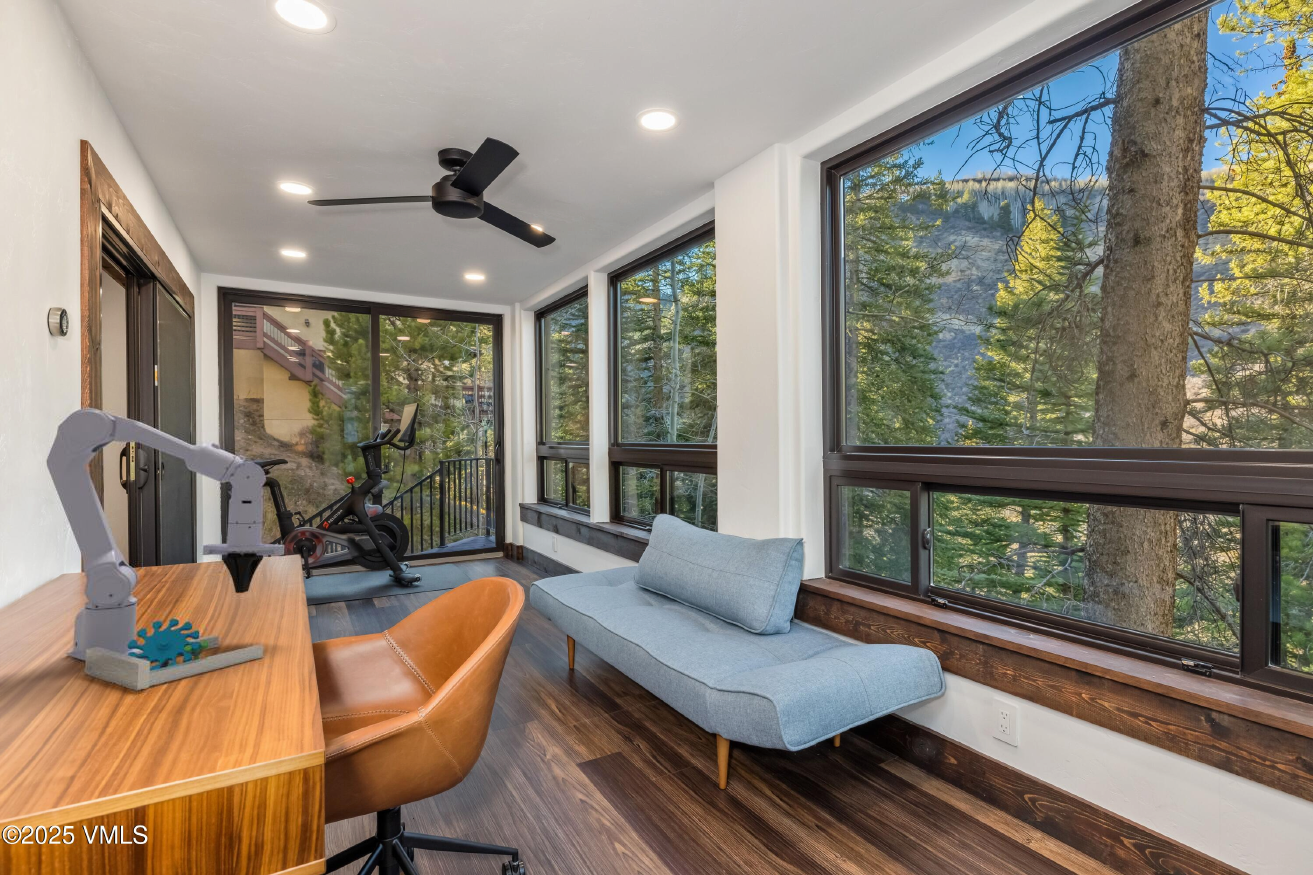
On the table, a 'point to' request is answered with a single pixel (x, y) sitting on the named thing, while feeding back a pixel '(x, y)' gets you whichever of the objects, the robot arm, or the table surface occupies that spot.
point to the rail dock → (140, 677)
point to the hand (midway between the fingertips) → (241, 591)
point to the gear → (168, 644)
